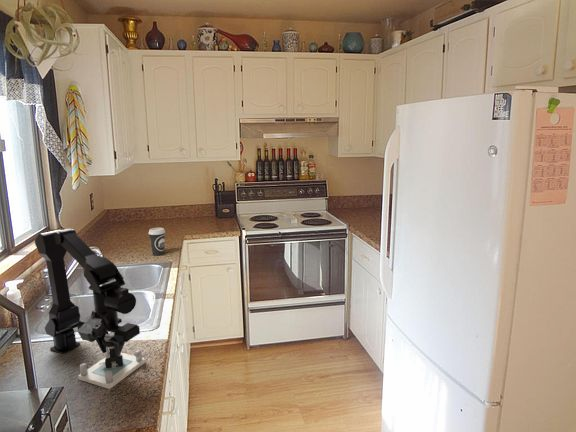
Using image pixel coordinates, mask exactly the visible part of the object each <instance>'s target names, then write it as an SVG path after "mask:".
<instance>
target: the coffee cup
mask: <svg viewBox="0 0 576 432" xmlns="http://www.w3.org/2000/svg"><path fill="white" fill-rule="evenodd" d="M147 234H148V235H149V240H150V247H151V253H152V256H154V257H159V256H160V257H162V256H163V255H165V250H166V248H165V246H166V245H165V244H166V243H165V242H166V241H165V239H166V236H165V235H166V229H165V228H164V227H152V228H149V231H148V233H147Z"/></svg>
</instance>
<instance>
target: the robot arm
mask: <svg viewBox="0 0 576 432" xmlns="http://www.w3.org/2000/svg"><path fill="white" fill-rule="evenodd" d="M34 244H35V247H36V249H37V252H38V254H39V255H40V256H41V257H42V258H43V259H44V260H45V263H46V269H47V275H48V281H49V287H50V292H51V297H52V305H51V307H50V310H49V311H48V318H49V319H48V322H46V325H45V326H44V331H45V333H46V335H48V336H50V337H52V340H53V346H51V347H50V348H49V350H50V351H51V352H52V351H53V352H57V353H59V354H66V353H68V352H69V351H71V350H73V349H74V348H76V347H78V346H79V345H81V342H80V341H77V338H76V334H75V329H76V328H77V334H78V335H79V336H80V338H81V340H82V341H87V342H90V343H94V342H95V341H96V343H97V345H98V347H99V349H100V350H101V352H102V354H105V353H107V352H106V346H104V345H103V343H102V338H103V337H105V335H106V334H108V333H111V332H114V337H113V338H111V339H109V340H110V341H112V342H113V344H114V349H115V354H116V357H118V356H120V354H121V353H122V351H123V348H124V346H125V343H128V342H129V341H131V340H132V339H133V338H135V337H136V336H138V335H140V334H141V331H140V326H139V325H138V324H134V323H130V322H127V323H125V324H124V325H122V326H121V325H119V324H121V323H122V322H123V321H122V318H119V316H118V315H119V314H118V313H121V314H123V315H126V314H129V313H131V312H132V311H133V310H134V308H135V307H136V304H137V298H136V296H135V295H134V294H133V293H131V292H130V291H129V289H128V288H126V287H123V286H125V285H126V282H125V280H124V277H123V275H122V274H121V272H120V271H119V269H118V267H117V266H116V264H115V263H114V262H113V261H111V260H109V259H108V258H107V257H104V256H100V255H98V254H96V253H95V252H94V250H93V249H91V248H90V247H89V246H88V245H87V244H86V243H85V242H84V241H83V239H82V238H80V237H79V235H78V234H77V231H76V230H75V229H73V228H65V229H62V230H61V229H56V230H51V231H48V232H42V233H39V234H38V235H37V236H36V238H35V239H34ZM67 253H68V254H69V255H70V256H71V257H72V258H73V259H74V260H75V261H76V262H77V263H78V264H79V265H80V267H81V268H82V269H83V277H84V278H85V279H86V281H87V283H88V284H89V286H88V289H89V290H90V291H92V296H93V304H94V310H92V311H91V313H90V315H89V316H87V317H85V318H83V319H81V314H80V307H79V306H78V305H76V304H75V303H74V302H72V300H71V295H70V288H69V283H68V276H67V270H66V265H65V257H66V254H67Z"/></svg>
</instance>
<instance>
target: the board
mask: <svg viewBox="0 0 576 432" xmlns="http://www.w3.org/2000/svg"><path fill="white" fill-rule="evenodd" d="M134 353H135V355H133V354H132V355H131V354H130V353H124V352H121V355H122V356H123V366H121V367H120V366H118V367H116V368H106V367H102V365H105V364H102V363H103V362H105V359H106V357H104V358H103V359H101V360H99V361H98V362H97V363H95V364H92V366H90V367H89V368H88V364H87V363H86V362H83V363H80V365H79V370H80V374H78V375H77V379H78V380H80V381H83V382H86V383H89V384H93V385H95V386H99V387H102V388H105V389H107V390H111V389H112V388H113V387H115V386H116V385H117V384H118V383H120V382H122V381H123V380H124V379H126V378H127V377H128V376H129V375H131V374H132V373H133V372H134V371H136V370H137V369H138V368H140V367H141V366H142V365H144V364H145V363H146V358H144V357H143V354H142V353H143V352H142V349H136V350H135V352H134ZM109 357H110V355H109ZM100 363H101V365H99V364H100ZM100 366H101V367H100Z"/></svg>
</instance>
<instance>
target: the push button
mask: <svg viewBox="0 0 576 432" xmlns="http://www.w3.org/2000/svg"><path fill="white" fill-rule="evenodd" d="M113 337H114V332H108V334H106V335H105V337H103V338H102V343H103V345H104V346H106V352H105V353H106V355H105V358H106V359H105V362H103V363H102V364H105V365H102V367H106V368H116V367H118V366H120V367H121V366H123V356H122V355H121V354H120V356H118V357H116V354H115V349H114V344H113V342H112V341H110V340H109V339H111V338H113ZM109 355H110V357H109ZM99 365H101V363H100V364H99ZM100 367H101V366H100Z"/></svg>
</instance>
